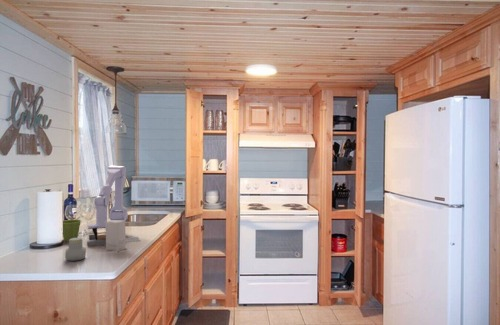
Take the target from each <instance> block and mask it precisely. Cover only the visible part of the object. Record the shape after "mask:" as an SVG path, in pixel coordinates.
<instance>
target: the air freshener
mask: <svg viewBox="0 0 500 325" xmlns="http://www.w3.org/2000/svg"><path fill="white" fill-rule="evenodd" d="M64 256H65V260H67V261H70V262H76V261H77V262H78V261H82V260H83V259H85V258H86V247H84V246H83V238H81V237H78V238H71V239H70V240H69V241H68V247H67V248H66V249H65V254H64Z"/></svg>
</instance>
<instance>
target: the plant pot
mask: <svg viewBox="0 0 500 325" xmlns="http://www.w3.org/2000/svg"><path fill="white" fill-rule="evenodd" d="M62 221H63V233H62V237H63V241H65V242H69V240H70V239H71V238H79V234H80V233H79V232H80V226H81V223H82V220H81V219H67V220H66V219H65V220H62Z"/></svg>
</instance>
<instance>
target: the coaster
mask: <svg viewBox="0 0 500 325" xmlns="http://www.w3.org/2000/svg"><path fill="white" fill-rule="evenodd" d="M140 241H141V240H140V238H139V237H138V236H132V237H131V236H130V237H126V243H131V242H140Z"/></svg>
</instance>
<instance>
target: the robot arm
mask: <svg viewBox="0 0 500 325" xmlns="http://www.w3.org/2000/svg"><path fill="white" fill-rule="evenodd" d="M106 174H107V179H106V182H105V184H104V185H102V186H101V189H100V191H99V192H98V193H99V194H98V196H96V197H95V199H94V201H93V202H94V207H95V210H96V215H95V216H96V219H95V220H96V221H95V222H96V224H90V225H87V230H91V231H92V233H93V234H94V235H95V238H96V240H97V231H98V229H99V230H100V229H106V223H105V222H107V221H108V216H109V221H111V220H123V221H125V222H126V221H127V219H128V217H129V214H128V208H127V207H125V206H124V180H126V178H127V169H126V167H125V166H124V165H122V166H121V165H108V167H107V169H106ZM113 185H114V205H113V206H112V207H111V208H110V212H109V215H108V206H109V204H110V199H111V198H110V195H111V193H112V192H113V188H112V186H113Z"/></svg>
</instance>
